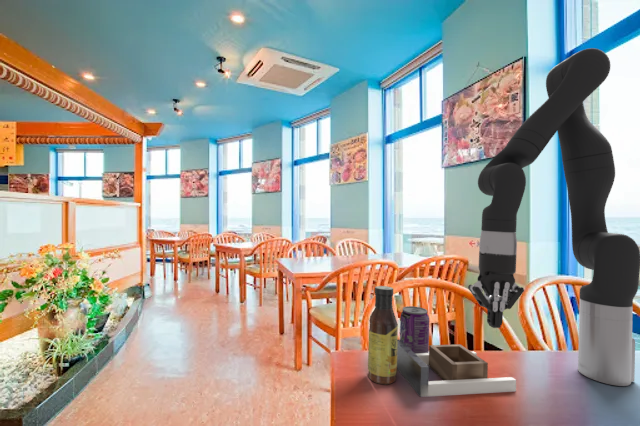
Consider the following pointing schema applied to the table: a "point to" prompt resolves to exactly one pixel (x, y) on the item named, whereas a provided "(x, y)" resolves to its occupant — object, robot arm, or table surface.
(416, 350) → the beverage can
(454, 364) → the crate
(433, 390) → the bay
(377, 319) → the sauce bottle
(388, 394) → the table surface
